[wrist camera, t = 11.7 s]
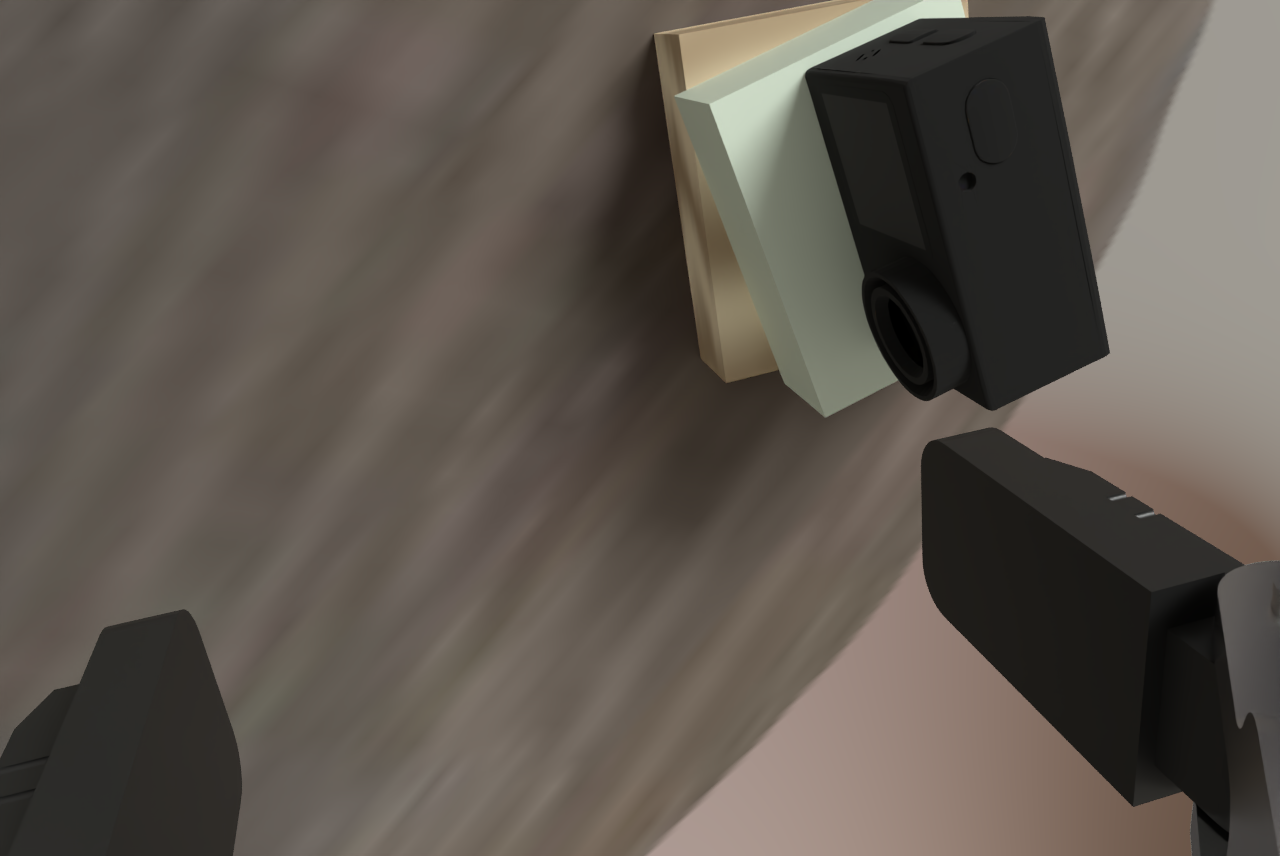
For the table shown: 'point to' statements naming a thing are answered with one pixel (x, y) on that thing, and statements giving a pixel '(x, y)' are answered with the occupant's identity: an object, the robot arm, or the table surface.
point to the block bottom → (714, 272)
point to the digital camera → (963, 206)
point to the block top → (796, 203)
